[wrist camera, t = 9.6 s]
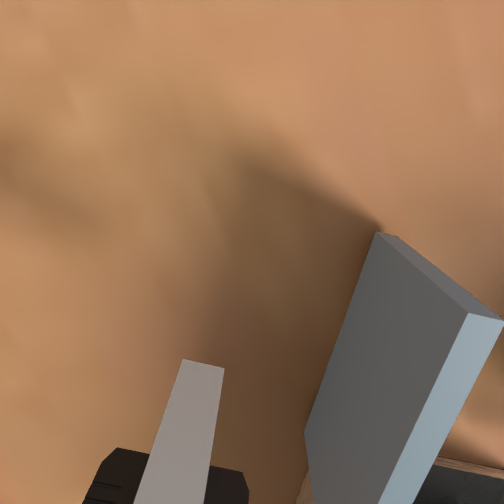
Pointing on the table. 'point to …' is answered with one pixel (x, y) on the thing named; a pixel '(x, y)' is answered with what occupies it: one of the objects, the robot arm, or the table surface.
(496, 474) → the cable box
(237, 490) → the robot arm
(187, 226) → the table surface
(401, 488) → the thin blue-grey panel
